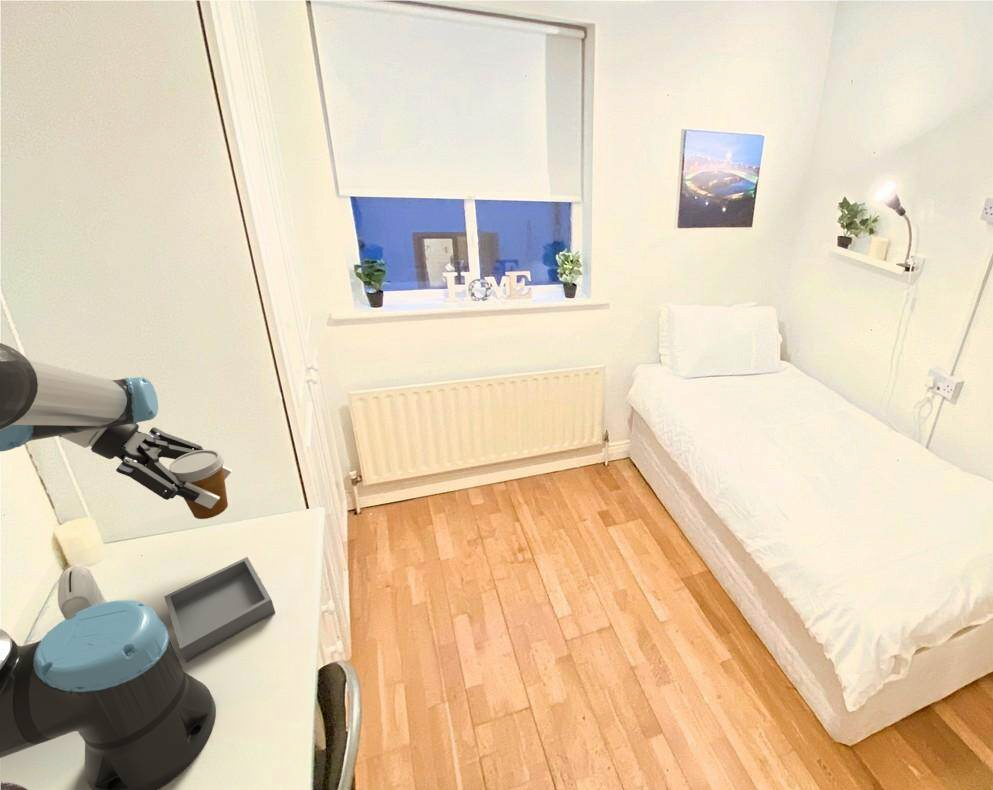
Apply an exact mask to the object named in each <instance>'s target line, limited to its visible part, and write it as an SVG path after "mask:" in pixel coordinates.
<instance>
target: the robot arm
mask: <svg viewBox="0 0 993 790" xmlns="http://www.w3.org/2000/svg"><path fill="white" fill-rule="evenodd" d="M158 411H159V401H158V396H157V392H156V389H155V387H154V385H153V384H152V382H151V381H150V380H149V379H148V378H146V377H143V376H141V377H130V378H129V377H124V378H121V379H120V378H119V379H108V378H103V377H100V376H95V375H92V374H87V373H83V372H79V371H75V370H71V369H66V368H62V367H58V366H54V365H50V364H46V363H42V362H39V361H38V362H37V361H33V360H30V359H28V358H27V356H25V354H23V353H21V352H20V351H19V350H17V349H15V348H14V347H12V346H9V345H7V344H4V343H2V342H0V452H1V453H2V452H6V451H10V450H13V449H16V448H19V447H22V446H24V445H26V444H27V443H28V442H30V441H31V442H32V441H36V440H41V439H48V438H53V437H59V438H63V439H65V440H67V441H70V442H71V443H73V444H75V445H77V446H79V447H82V448H84V449H85V448H89V447H90V450H91V452H92V453H95V454H97V455H99V456H101V457H103V458H106V459H108V460H112V459H114V458H118V459H119V460H121V462H120V464H119V465H118V466H117V468H116V469H115V471H116V472H117V473H119V474H121V475H124V476H126V477H129V478H131V479H132V480H134V481H135V482H137V483H139V484H140V485H141V486H144V487H145V488H146V489H148V490H150V491H151V492H152V493H154V494H156V495H157V496H159V497H161V498H162V499H164V500H170V499H174V498H175V497H176V496H179V497H181V498H183V499H184V498H185V499H187V500H190V501H193V502H197V503H199V504H201V505H203V506H205V507H208V508H210V509H211V508H212V507H213V506H214V505H215V503H216V502H217V501H218V500H219V498H220V497H219V496H217V495H215V494H212V493H210V492H208V491H206V490H204V489H202V488H200V487H197V486H195V485H193V484H191V483H189V482H186V483H185V484H183V483H182V482H181V481H180V480H179V479H178V478H177V477H175V476H174V475H173V474H172V473H171V472H170V471H169V468H167V467H166V466H165V465H164V464H163V463H162V462H161V461H160V458H164V459H165V458H167V459H171V460H175V459H177V458H178V457H180V456H183V455H185V454H187V453H190V452H194V451H198V450H205V449H204V448H203V446H201V445H199V444H197V443H194V442H192V441H189V440H185V439H183V438H181V437H177V436H175V435H172V434H169V433H167V432H164V431H162V430H161V429H159V428H158V427H155V426H153V427H151V429H150V430H149V431H148V432H147V433H146V432H145V433H144V432H141V431H139V429H140V425H139V424H138V423H141V422H147V421H151V420H154V419H155V417H157V415H158V413H159V412H158ZM232 472H233V469H231V468H230V467H227V466H225V465H223V473H224V480H226V479H227V478H228V477H229V475H231V473H232ZM168 633H169V632H168V630H167V627H166V625H165V624H164V622H163V621H162V620H161V619H160V618H159V616H158V614H157V613H156V611H155V610H154V609H153V608H152V607H151V606H148V605H145V604H144V602H140V601H136V600H131V599H130V600H129V599H122V600H121V599H120V600H119V599H118V600H111V601H106V602H105V603H101V604H97V605H94V606H91V607H88V608H86V609H84V610H81V611H79V612H77V613H75V614H74V618H72V619H70V620H66V619H63V620H62V621H60V622H59V623H58V624H56V625H55V626H54V627H53V628H51V629H50V630H49V631H48V632H47V633H46V634H45V635H44V636H43V638H42V639H41V640H39V641H35V642H32V643H29V644H25V645H18V644H17V643H16V641H15V640H14V639H12V637H11V636H10V634H9V633H8V632H6V631H5V630H3V629H2V628H0V759H2V758H5V757H7V756H9V755H10V756H11V755H12V754H16V753H18V752H21V751H23V750H26V749H29V748H32V747H35V746H37V745H39V744H43V743H45V742H46V743H47V742H49V741H51V740H54V739H57V738H59V737H61V736H65V735H68V734H70V733H73V732H78V734H79V736H80V737H81V738H82V739H83V741H84V776H85V779H86V782H87V784H88V786H89V787H90V788H91V790H159V789H161V788H162V787H164V786H165V785H168V784H169V783H170V782H171V781H172V780H174V779H176V777H178V776H179V775H180V774H181V773H182V772H183V771H184V770H186V768H187V767H189V765H190V764H191V763H192V762H193V761H194V760H195V758H197V756H198V755H199V753H201V751H202V750H203V748H204V746H205V745H206V743H207V741H208V740H209V738H210V735H211V733H212V731H213V728H214V725H215V722H216V717H217V707H216V702H215V700H214V698H213V695H212V693H211V691H210V689H209V688H208V687H207V685H206V684H204V683H203V682H202V681H200V680H198V679H197V678H195V677H193V676H192V675H190V674H189V673H187V672H186V671H185V670H184V668H183V666H182V664H181V661H180V659H179V656H178V654H177V652H176V650H175V648H174V645H173V643H172V641H171V639H170V635H169V634H168Z"/></svg>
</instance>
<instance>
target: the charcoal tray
mask: <svg viewBox="0 0 993 790" xmlns="http://www.w3.org/2000/svg"><path fill="white" fill-rule="evenodd" d="M163 597H164V601H165V603H166V606H167V610H168V614H169V617H170V620H171V624H172V626H173V630H174V633H175V636H176V640H177V642H178V643H177V644H178V646H179V649H180V651H181V654H182V656H183V658H184V661H185V663H188V662H191V661H192V660H194V659H196V658H197V657H199V656H201V655H203V654H205V653H206V652H208V651H210V650H212V649H214V648H215V647H217V646H219V645H221V644H222V643H224V642H226V641H227V640H229V639H230V638H233V637H235V636H236V635H237V634H240V633H241V632H244V631H245V630H247V629H248V628H250V627H252V626H254V625H256V624H257V623H259V622H262V619H263V620H264V618H265V619H266V618H268V617H270V616H272V615H273V614H275V613H276V610H275V607H274V603H273V600H272V598H271V596H270V594H269V593H268V590H267V589H266V587H265V585H264V584H263V582H262V580H261V578H260V576H259V575H258V573H257V571H256V570H255V568H254V566H253V565H252V562H251V561H250V558H249V557H248V556H246V557H244V558H242V559H240V560H237V561H236V562H234V563H233V562H232V563H231V564H229V565H227V566H225V567H223V568H221V569H219V570H217V571H215V572H212V573H210V574H208V575H206V576H204V577H202V578H200V579H198V580H195V581H192V582H191V583H189V584H187V585H185V586H182V587H180V588H178V589H176V590H174V591H172V592H170V593H168V594H166V595H164V596H163ZM274 612H275V613H274ZM272 613H273V614H272ZM271 614H272V615H271ZM269 615H270V616H269Z"/></svg>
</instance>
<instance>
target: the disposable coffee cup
mask: <svg viewBox="0 0 993 790" xmlns="http://www.w3.org/2000/svg"><path fill="white" fill-rule="evenodd" d="M224 462H225V458H224V457H223V456H222V455H220V452H218V451H217V450H214V449H204V450H198V451H194V452H190V453H187V454H185V455H183V456H180V457H178V458H177V459H173V461H172V462H170V464H169V466H168V470H169V471H170V472H171V473H172V474H173V475H174V476H175V477H177V478H178V479H179V480H180V481H181V482H182V483H183V484H185V483H186V482H189V483H191V484H193V485H195V486H197V487H200V488H202V489H204V490H206V491H208V492H210V493H212V494H215V495H217V496H219V497H220V498H219V500H218V501H217V502H216V503H215V505H214V506H213V507H212V508H211V509H210V508H208V507H205V506H203V505H201V504H199V503H197V502H193V501H190V500H187V499H185V498H183V500H184V501H185V503H186V504H187V506H188V508H189V510H190V512H191V514H192V515H193V517H194V518H195V519H197V520H207V519H212V518H214V517H217V516H219V515H221V514H222V513H223V512H225V510H226V509H227V508H228V507H229V502H228V496H227V487H226V481H225V480H226V479H225V480H224V473H223V466H224Z"/></svg>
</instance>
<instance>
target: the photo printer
mask: <svg viewBox="0 0 993 790" xmlns="http://www.w3.org/2000/svg"><path fill="white" fill-rule="evenodd" d="M105 602H107V601H106V599H105V597H104V595H103V593H102V591H101V589H100V588H99V585H98V583H97V582H96V579H95V577H94V576H93V574H92V572H91V570H90V569H89V568H88V567H87V566H86V565H83V564H76V565H73V566H71V567H68V568H66V569H65V570H64V572H63V573H62V574H61V575H60V579H59V581H58V585H57V605H58V609H59V611H60V613H61V614H62V617H63V618H64V620H70V619H72V618H74V614H75V613H77V612H79V611H81V610H84V609H86V608H88V607H91V606H94V605H97V604H101V603H105Z"/></svg>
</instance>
